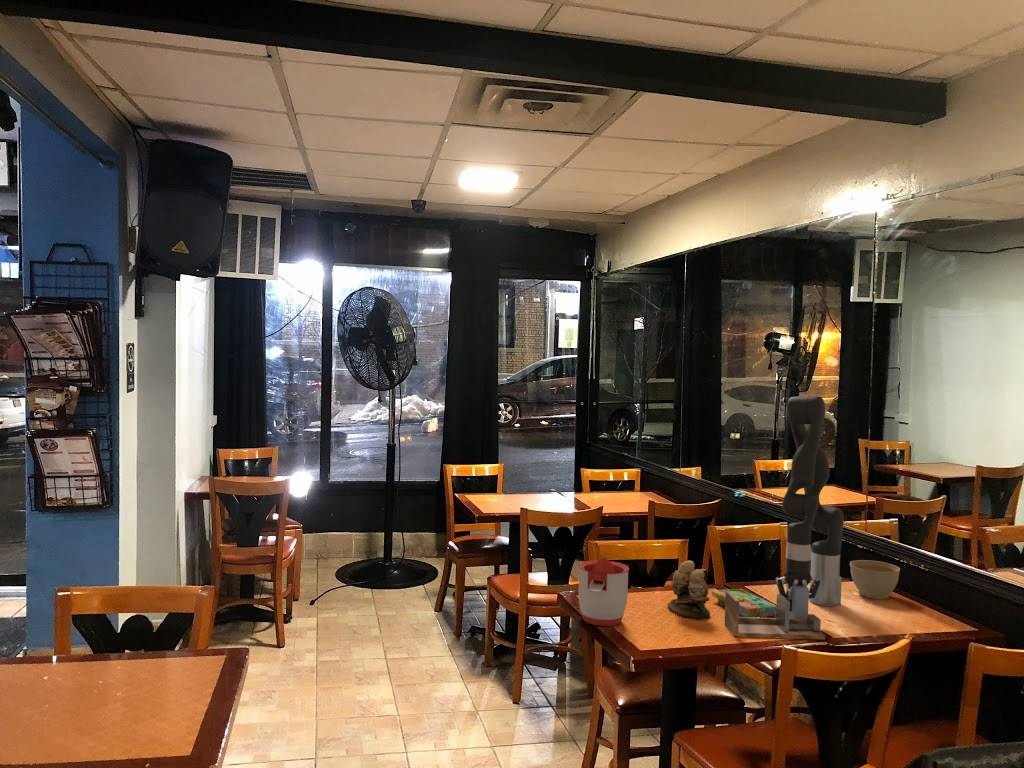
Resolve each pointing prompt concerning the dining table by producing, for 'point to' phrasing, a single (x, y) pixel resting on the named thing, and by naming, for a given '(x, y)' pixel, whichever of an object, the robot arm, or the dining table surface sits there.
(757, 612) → the puzzle game
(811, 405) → the robot arm
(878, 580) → the planter bowl
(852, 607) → the dining table surface
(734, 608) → the shelf
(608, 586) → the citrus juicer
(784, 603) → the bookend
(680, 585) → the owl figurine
